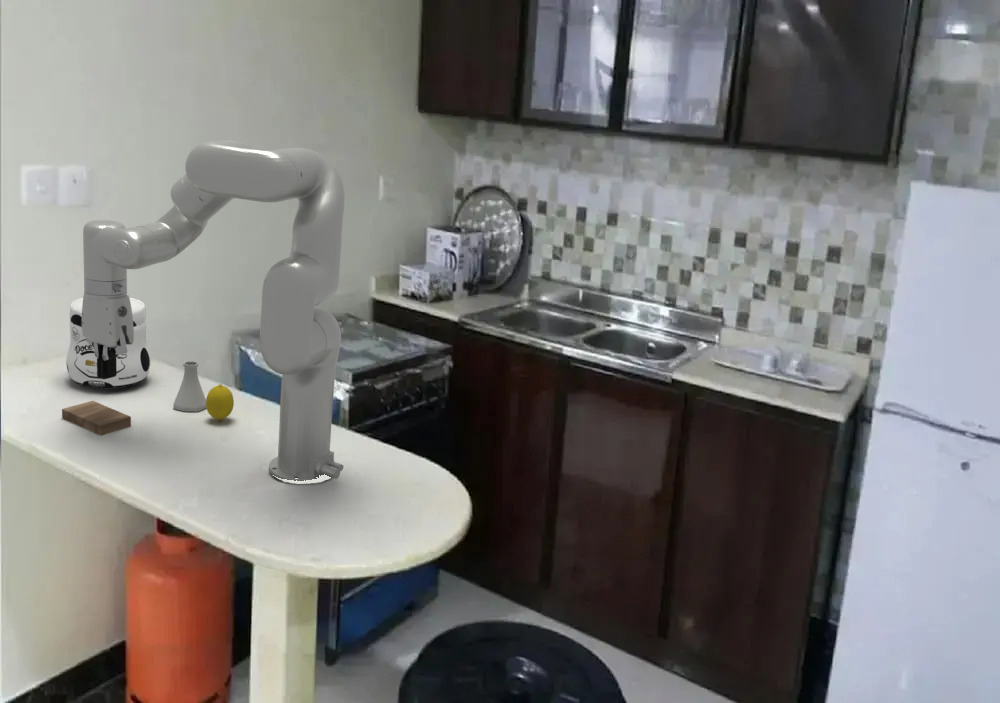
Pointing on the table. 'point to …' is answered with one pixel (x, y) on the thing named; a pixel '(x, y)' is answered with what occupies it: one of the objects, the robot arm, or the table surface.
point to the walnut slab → (96, 417)
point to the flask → (190, 390)
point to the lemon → (219, 402)
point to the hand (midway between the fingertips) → (106, 376)
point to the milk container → (128, 365)
